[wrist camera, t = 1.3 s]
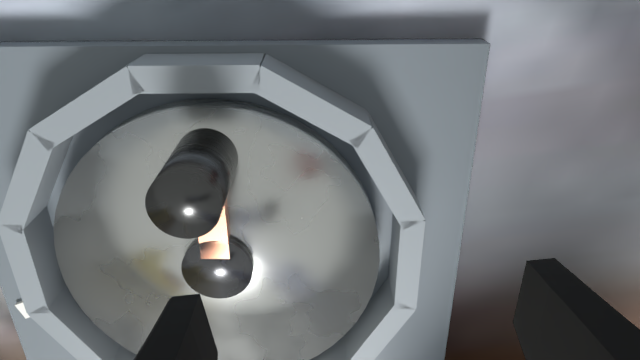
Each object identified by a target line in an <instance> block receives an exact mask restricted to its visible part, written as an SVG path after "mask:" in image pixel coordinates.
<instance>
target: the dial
mask: <svg viewBox="0 0 640 360" xmlns="http://www.w3.org/2000/svg"><path fill="white" fill-rule="evenodd" d="M53 229H54V247H55V252H56V257H57V261H58V265H59V268H60V271H61V273H62V276H63V279H64V281H65V283H66V285H67V287H68V289H69V291H70V293H71V294H72V296H73V298H74V299H75V301H76V302H77V303H78V305H79V306H80V308H81V309H82V310H83V312H84V313H85V314H86V315H87V316H88V317H89V318H90V320H91V321H92V322H93V323H94V324H95V325H96V326H97V327H98V328H99V329H101V330H102V331H103V332H104V333H105V334H106V335H107V336H109V337H110V338H111V339H113V340H114V341H115V342H117V343H118V344H120V345H121V346H123V347H124V348H125V349H127V350H129V351H131V352H133V353H134V354H136V355H137V354H138V352H139V350H140V349H141V347H142V345H143V344H144V342H145V340H146V339H147V337H148V335H149V334H150V332H151V330H152V328H153V327H154V325H155V323H156V321H157V320H158V318H159V316H160V314H161V313H162V311H163V309H164V307H165V306H166V304H167V302H168V300H169V299H170V298H171V297H172V296H182V295H192V294H200V296H201V299H202V302H203V305H204V309H205V312H206V315H207V318H208V322H209V325H210V328H211V331H212V334H213V338H214V341H215V344H216V347H217V351H218V360H310V359H312V358H314V357H316V356H318V355H319V354H321V353H322V352H324V351H325V350H327V349H328V348H330V347H331V346H333V345H334V344H335V343H336V342H337V341H338V340H340V339H341V338H342V337H343V336H344V335H345V334H346V333H347V332H348V331H349V330H350V329H351V328H352V326H353V325H354V324H355V323H356V322H357V320H358V319H359V317H360V316H361V314H362V313H363V311H364V310H365V308H366V306H367V304H368V302H369V300H370V298H371V296H372V293H373V290H374V287H375V283H376V280H377V276H378V269H379V262H380V253H379V239H378V233H377V227H376V222H375V218H374V213H373V210H372V207H371V204H370V201H369V198H368V195H367V193H366V191H365V189H364V187H363V185H362V183H361V181H360V179H359V177H358V176H357V174H356V173H355V171H354V170H353V169H352V167H351V166H350V164H349V163H348V162H347V160H346V159H345V158H344V157H343V156H342V155H341V154H340V153H339V152H338V151H337V150H336V149H335V148H334V146H333V145H331V144H330V143H329V142H328V141H326V140H325V139H324V138H323V137H321V136H320V135H319V134H318V133H317V132H315V131H314V130H312V129H310V128H309V127H307V126H305V125H304V124H302V123H301V122H299V121H297V120H295V119H293V118H291V117H289V116H286V115H284V114H282V113H280V112H278V111H275V110H272V109H269V108H266V107H262V106H259V105H256V104H252V103H246V102H241V101H235V100H226V99H194V100H183V101H178V102H173V103H168V104H164V105H160V106H158V107H155V108H152V109H149V110H146V111H143V112H141V113H139V114H137V115H135V116H133V117H131V118H130V119H128V120H126V121H124V122H122V123H121V124H120V125H118V126H117V127H115V128H114V129H113V130H111V131H110V132H108V133H107V134H106V135H105V136H104V137H103V138H102V139H101V140H100V141H99V142H98V143H97V144H95V145H94V146H93V147H92V148H91V149H90V150H89V151H88V152H87V153H86V154H85V155H84V156H83V157H82V158H81V160H80V161H79V162H78V164H77V165H76V166H75V168H74V169H73V171H72V172H71V173H70V175H69V177H68V179H67V181H66V183H65V185H64V187H63V189H62V191H61V193H60V197H59V200H58V204H57V207H56V211H55V220H54V228H53Z"/></svg>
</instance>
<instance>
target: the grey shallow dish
mask: <svg viewBox="0 0 640 360" xmlns="http://www.w3.org/2000/svg"><path fill="white" fill-rule="evenodd" d="M489 48H490V43H488V42H486V41H485V40H483V39H396V40H234V41H71V42H0V286H1V289H2V292H3V294H4V297H5V300H6V303H7V306H8V308H9V311H10V314H11V317H12V320H13V322H14V325H15V328H16V331H17V333H18V336H19V339H20V342H21V345H22V347H23V350H24V353H25V356H26V359H27V360H134V358H135V357H136V354H134V353H133V352H131V351H129V350H127V349H125V348H124V347H123V346H121V345H120V344H118V343H117V342H115V341H114V340H113V339H111V338H110V337H109V336H107V335H106V334H105V333H104V332H103V331H102V330H101V329H99V328H98V327H97V326H96V325H95V324H94V323H93V322H92V321H91V320H90V318H89V317H88V316H87V315H86V314H85V313H84V312H83V310H82V309H81V308H80V306H79V305H78V303H77V302H76V301H75V299H74V298H73V296H72V294H71V293H70V291H69V289H68V287H67V285H66V283H65V281H64V279H63V276H62V273H61V271H60V268H59V265H58V261H57V257H56V252H55V247H54V229H53V228H54V220H55V211H56V207H57V204H58V200H59V197H60V193H61V191H62V189H63V187H64V185H65V183H66V181H67V179H68V177H69V175H70V173H71V172H72V171H73V169H74V168H75V166H76V165H77V164H78V162H79V161H80V160H81V158H82V157H83V156H84V155H85V154H86V153H87V152H88V151H89V150H90V149H91V148H92V147H93V146H94V145H95V144H97V143H98V142H99V141H100V140H101V139H102V138H103V137H104V136H105V135H106V134H107V133H108V132H110V131H111V130H113V129H114V128H115V127H117V126H118V125H120V124H121V123H122V122H124V121H126V120H128V119H130V118H131V117H133V116H135V115H137V114H139V113H141V112H143V111H146V110H149V109H152V108H155V107H158V106H160V105H164V104H168V103H173V102H178V101H183V100H194V99H226V100H235V101H241V102H246V103H252V104H256V105H259V106H262V107H266V108H269V109H272V110H275V111H278V112H280V113H282V114H284V115H286V116H289V117H291V118H293V119H295V120H297V121H299V122H301V123H302V124H304V125H305V126H307V127H309V128H310V129H312V130H314V131H315V132H317V133H318V134H319V135H320V136H321V137H323V138H324V139H325V140H326V141H328V142H329V143H330V144H331V145H333V146H334V148H335V149H336V150H337V151H338V152H339V153H340V154H341V155H342V156H343V157H344V158H345V159H346V160H347V162H348V163H349V164H350V166H351V167H352V169H353V170H354V171H355V173H356V174H357V176H358V177H359V179H360V181H361V183H362V185H363V187H364V189H365V191H366V193H367V195H368V198H369V201H370V204H371V207H372V210H373V213H374V218H375V222H376V227H377V233H378V239H379V253H380V262H379V269H378V276H377V280H376V283H375V287H374V290H373V293H372V296H371V298H370V300H369V302H368V304H367V306H366V308H365V310H364V311H363V313H362V314H361V316H360V317H359V319H358V320H357V322H356V323H355V324H354V325H353V326H352V328H351V329H350V330H349V331H348V332H347V333H346V334H345V335H344V336H343V337H342V338H341V339H340V340H338V341H337V342H336V343H335V344H334V345H333V346H331V347H330V348H328V349H327V350H325V351H324V352H322V353H321V354H319V355H318V356H316V357H314V358H312V359H310V360H444V358H445V352H446V345H447V338H448V331H449V324H450V317H451V310H452V303H453V296H454V290H455V283H456V276H457V269H458V262H459V255H460V248H461V241H462V234H463V227H464V221H465V214H466V207H467V200H468V193H469V186H470V179H471V172H472V165H473V159H474V152H475V145H476V138H477V131H478V124H479V117H480V110H481V103H482V97H483V90H484V83H485V76H486V69H487V62H488V55H489Z"/></svg>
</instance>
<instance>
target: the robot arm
mask: <svg viewBox="0 0 640 360" xmlns="http://www.w3.org/2000/svg"><path fill="white" fill-rule="evenodd" d="M513 324H514V327H515V330H516V333H517V336H518V339H519V342H520V345H521V347H522V350H523V353H524V356H525V358H526V360H640V329H638V328H637V327H636V326H635V325H633V324H632V323H631V322H630V321H629V320H627V319H626V318H625V317H624V316H622V315H621V314H620V313H619V312H618V311H616V310H615V309H614V308H613V307H611V306H610V305H609V304H608V303H607V302H606V301H604V300H603V299H602V298H601V297H600V296H598V295H597V294H596V293H595V292H594V291H592V290H591V289H590V288H589V287H588V286H587V285H585V284H584V283H583V282H582V281H581V280H580V279H578V278H577V277H576V276H575V275H574V274H573V273H571V272H570V271H569V270H568V269H567V268H565V267H564V266H563V265H562V264H561V263H559V262H558V261H557V260H556V259H555V258H552V259H542V260H532V261H527V262H526V267H525V271H524V275H523V280H522V284H521V289H520V293H519V298H518V302H517V307H516V311H515V315H514V320H513ZM134 360H218V351H217V347H216V344H215V341H214V338H213V334H212V331H211V328H210V325H209V322H208V318H207V315H206V312H205V309H204V305H203V302H202V299H201V296H200V294H192V295H182V296H172V297H171V298H170V299H169V300H168V302H167V304H166V306H165V307H164V309H163V311H162V313H161V314H160V316H159V318H158V320H157V321H156V323H155V325H154V327H153V328H152V330H151V332H150V334H149V335H148V337H147V339H146V340H145V342H144V344H143V345H142V347H141V349H140V350H139V352H138V354H137V355H136V357H135V358H134Z"/></svg>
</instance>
